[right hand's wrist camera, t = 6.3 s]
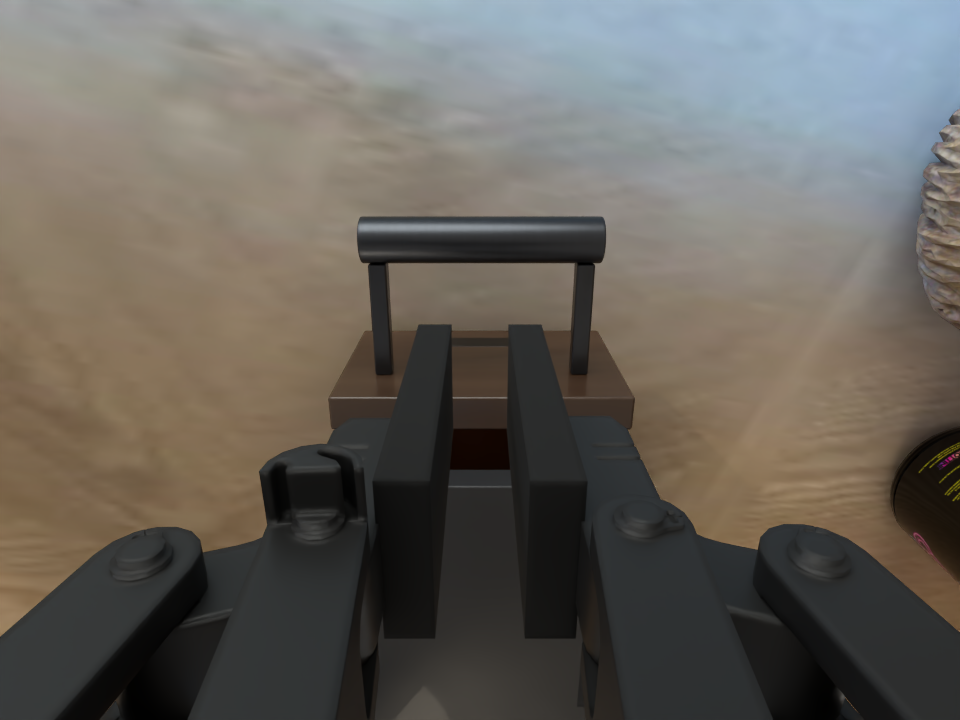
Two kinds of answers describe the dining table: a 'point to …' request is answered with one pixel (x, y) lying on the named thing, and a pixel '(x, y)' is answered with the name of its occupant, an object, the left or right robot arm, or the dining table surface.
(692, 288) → the dining table surface
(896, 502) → the supplement container
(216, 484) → the dining table surface
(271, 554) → the right robot arm
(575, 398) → the drawer
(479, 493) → the cabinet
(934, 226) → the seashell
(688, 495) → the dining table surface
